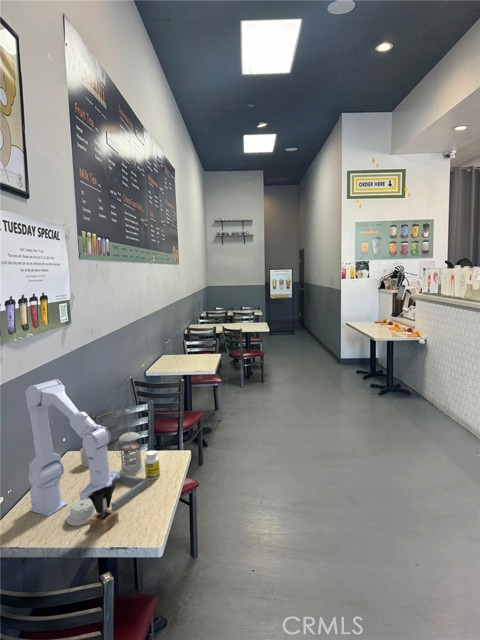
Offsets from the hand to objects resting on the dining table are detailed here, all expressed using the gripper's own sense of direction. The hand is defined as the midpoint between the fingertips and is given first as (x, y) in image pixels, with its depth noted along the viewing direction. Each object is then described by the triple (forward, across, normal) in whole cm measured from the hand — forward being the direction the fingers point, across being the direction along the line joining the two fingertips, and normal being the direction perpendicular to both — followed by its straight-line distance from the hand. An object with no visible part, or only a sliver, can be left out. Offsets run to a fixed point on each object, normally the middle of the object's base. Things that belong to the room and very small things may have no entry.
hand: (103, 509), depth 123 cm
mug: (+5, +33, +39) cm, 51 cm away
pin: (+2, 0, 0) cm, 2 cm away
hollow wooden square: (+5, 0, 0) cm, 5 cm away
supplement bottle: (+5, +30, +5) cm, 31 cm away
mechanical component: (+5, +1, +10) cm, 11 cm away
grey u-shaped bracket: (+5, +16, +10) cm, 19 cm away
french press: (+5, +32, +18) cm, 37 cm away
